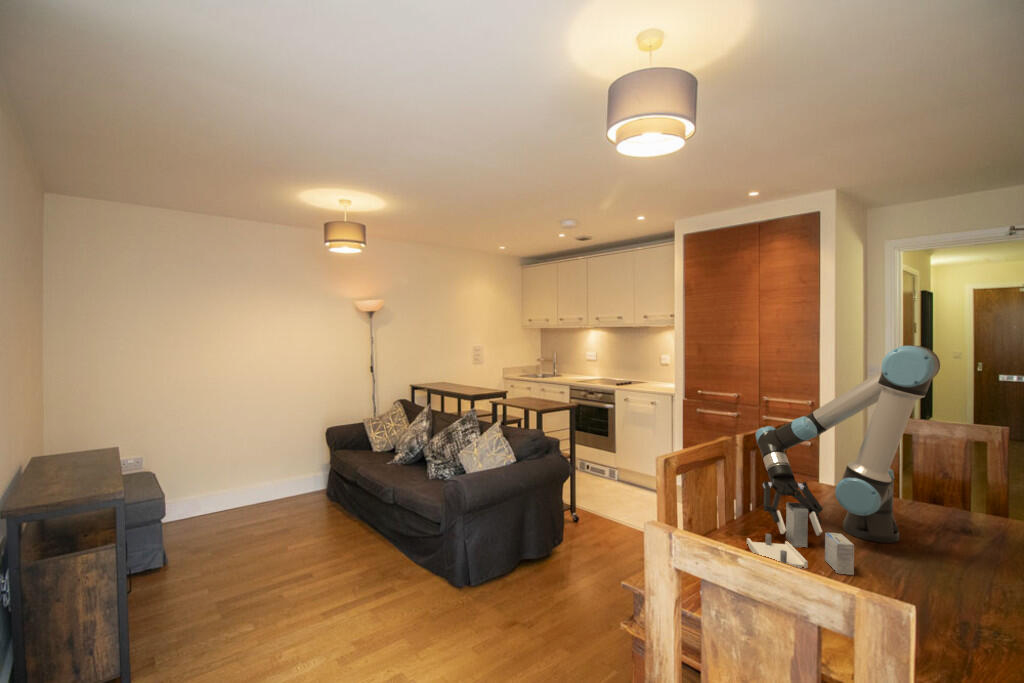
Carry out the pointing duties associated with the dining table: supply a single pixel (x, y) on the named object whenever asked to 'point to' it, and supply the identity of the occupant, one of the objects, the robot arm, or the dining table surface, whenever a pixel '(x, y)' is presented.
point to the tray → (778, 552)
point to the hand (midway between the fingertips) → (801, 533)
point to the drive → (796, 524)
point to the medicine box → (839, 553)
